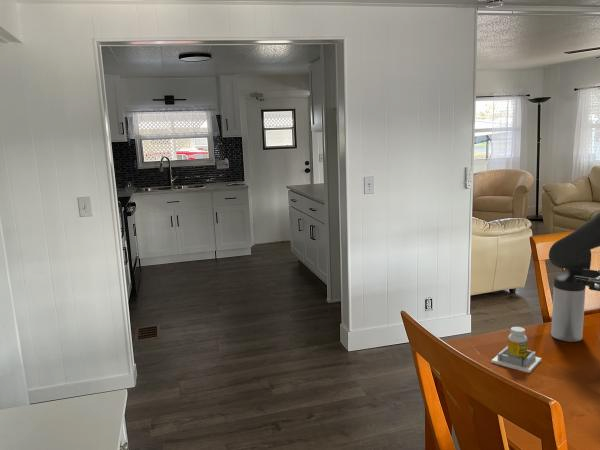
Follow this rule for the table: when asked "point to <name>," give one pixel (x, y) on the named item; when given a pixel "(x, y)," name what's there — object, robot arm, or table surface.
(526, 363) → the caddy
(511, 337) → the supplement bottle
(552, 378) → the table surface
